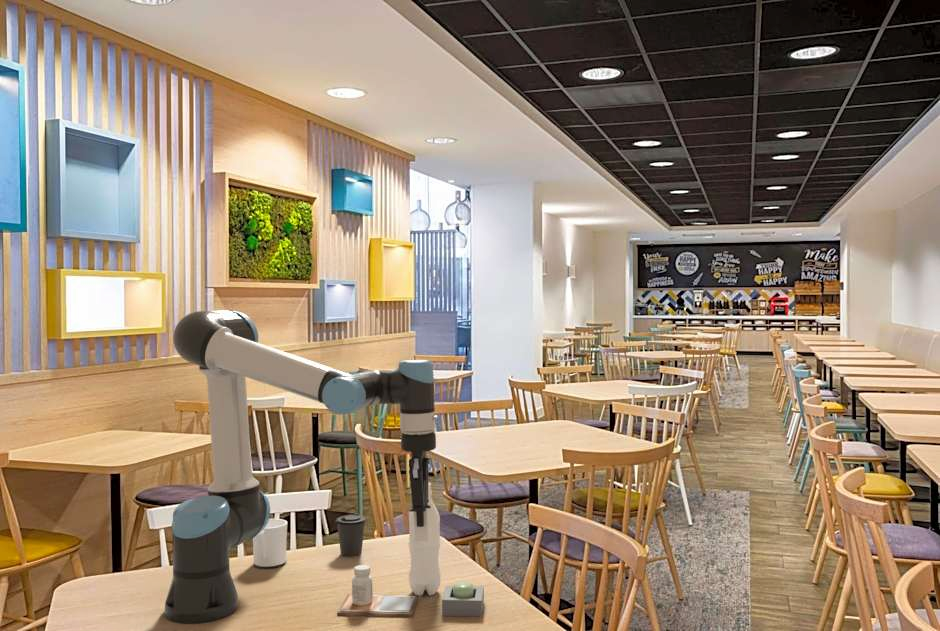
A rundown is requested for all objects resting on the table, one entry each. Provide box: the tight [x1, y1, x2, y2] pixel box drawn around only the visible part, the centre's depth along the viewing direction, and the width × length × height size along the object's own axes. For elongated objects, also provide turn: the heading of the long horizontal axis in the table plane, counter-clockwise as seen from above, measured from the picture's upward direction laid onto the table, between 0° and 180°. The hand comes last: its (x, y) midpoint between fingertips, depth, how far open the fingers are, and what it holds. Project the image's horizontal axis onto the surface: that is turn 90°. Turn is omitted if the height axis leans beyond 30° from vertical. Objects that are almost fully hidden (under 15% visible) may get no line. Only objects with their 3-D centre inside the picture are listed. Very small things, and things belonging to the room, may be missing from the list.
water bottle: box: [408, 481, 441, 597], centre depth 187 cm, size 7×7×25 cm
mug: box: [252, 518, 288, 570], centre depth 207 cm, size 11×9×10 cm
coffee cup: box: [334, 514, 367, 558], centre depth 216 cm, size 8×8×10 cm
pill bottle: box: [351, 564, 374, 606], centre depth 179 cm, size 4×4×8 cm
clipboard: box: [336, 594, 419, 618], centre depth 179 cm, size 16×10×1 cm, turn 86°
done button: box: [452, 581, 474, 598], centre depth 177 cm, size 4×4×3 cm
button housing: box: [441, 585, 485, 618], centre depth 178 cm, size 8×8×3 cm
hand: (421, 539), depth 178 cm, fingers closed
